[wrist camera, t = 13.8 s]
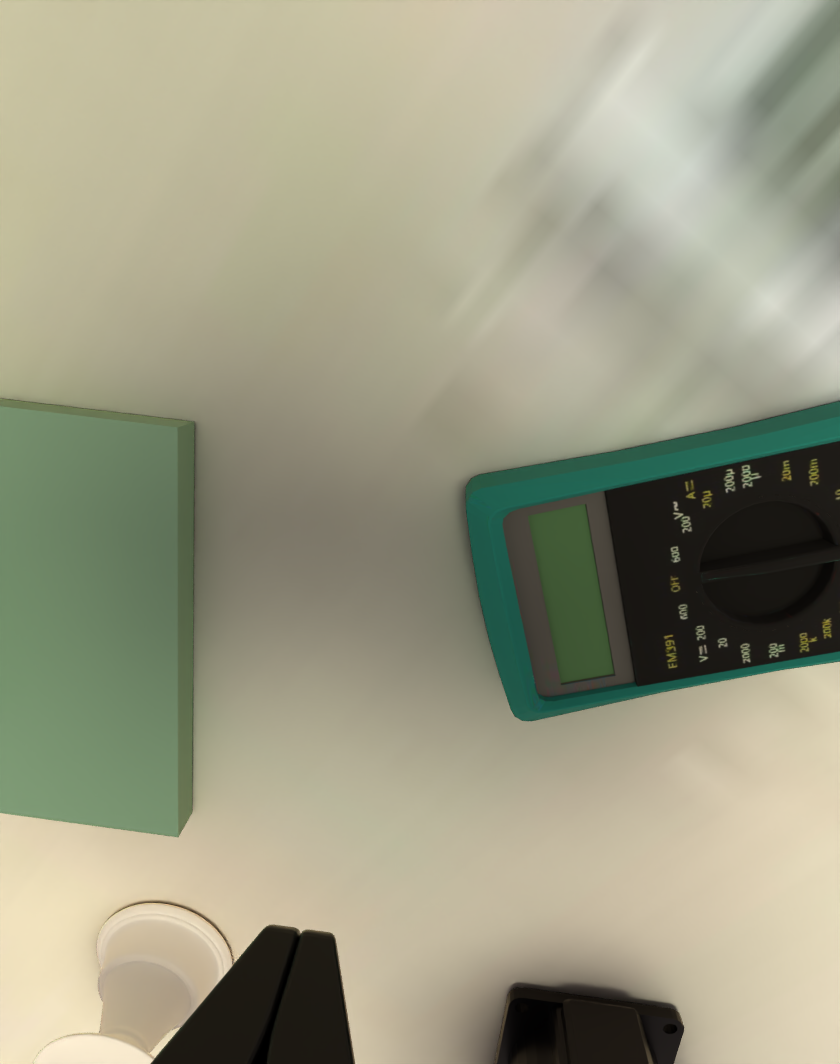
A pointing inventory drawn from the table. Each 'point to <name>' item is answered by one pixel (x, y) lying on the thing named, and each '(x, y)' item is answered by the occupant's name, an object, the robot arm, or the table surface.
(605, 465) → the digital multimeter
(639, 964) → the table surface
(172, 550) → the header board
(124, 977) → the candle
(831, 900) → the table surface
